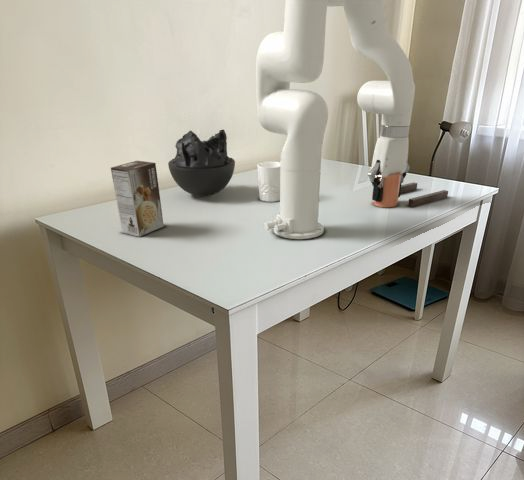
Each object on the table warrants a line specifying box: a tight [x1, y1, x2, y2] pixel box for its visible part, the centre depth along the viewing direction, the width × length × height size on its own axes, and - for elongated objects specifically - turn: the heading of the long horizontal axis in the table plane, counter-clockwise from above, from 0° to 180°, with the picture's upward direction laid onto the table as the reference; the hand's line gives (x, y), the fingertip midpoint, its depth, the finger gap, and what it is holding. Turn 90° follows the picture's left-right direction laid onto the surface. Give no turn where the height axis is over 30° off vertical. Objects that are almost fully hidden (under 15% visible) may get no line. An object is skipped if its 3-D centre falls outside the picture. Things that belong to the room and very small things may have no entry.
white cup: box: [256, 161, 280, 203], centre depth 147 cm, size 8×8×10 cm
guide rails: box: [400, 181, 449, 208], centre depth 149 cm, size 16×13×2 cm
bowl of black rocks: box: [167, 129, 236, 197], centre depth 149 cm, size 20×20×19 cm
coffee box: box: [110, 160, 165, 237], centre depth 123 cm, size 9×6×16 cm
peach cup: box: [373, 172, 401, 208], centre depth 142 cm, size 7×7×9 cm
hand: (385, 198), depth 143 cm, fingers closed on peach cup, 6 cm apart
